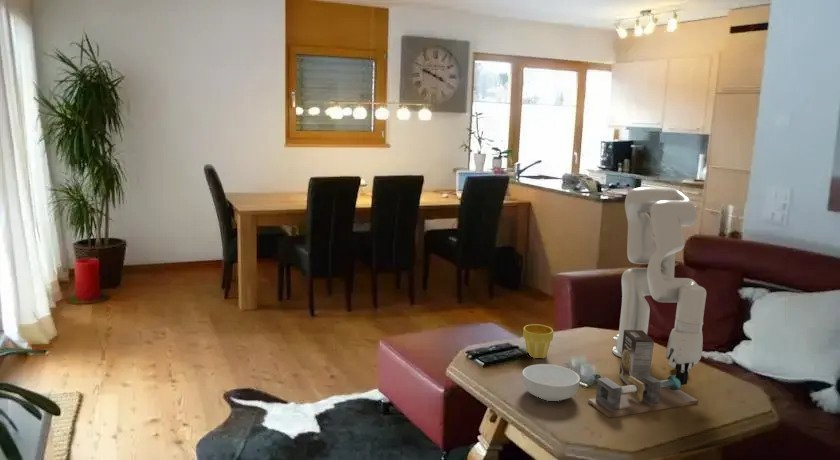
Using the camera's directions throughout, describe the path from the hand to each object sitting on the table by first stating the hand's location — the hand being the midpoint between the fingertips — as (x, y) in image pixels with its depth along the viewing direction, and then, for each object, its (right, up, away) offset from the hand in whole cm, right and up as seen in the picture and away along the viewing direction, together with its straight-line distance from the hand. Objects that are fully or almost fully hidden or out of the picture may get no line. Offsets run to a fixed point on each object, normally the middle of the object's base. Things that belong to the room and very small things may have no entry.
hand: (680, 382), depth 196 cm
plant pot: (-39, +3, +29) cm, 49 cm away
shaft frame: (-13, -5, -4) cm, 14 cm away
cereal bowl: (-41, -4, -2) cm, 41 cm away
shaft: (-12, -2, -4) cm, 13 cm away
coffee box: (-11, -2, +10) cm, 15 cm away
